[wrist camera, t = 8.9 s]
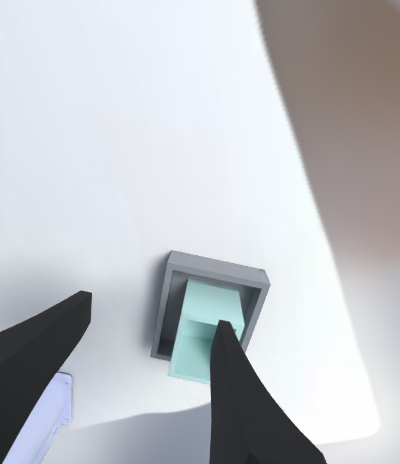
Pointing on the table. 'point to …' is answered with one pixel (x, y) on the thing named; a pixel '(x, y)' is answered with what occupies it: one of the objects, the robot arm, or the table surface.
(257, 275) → the gray tray
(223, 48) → the table surface
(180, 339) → the small crate
